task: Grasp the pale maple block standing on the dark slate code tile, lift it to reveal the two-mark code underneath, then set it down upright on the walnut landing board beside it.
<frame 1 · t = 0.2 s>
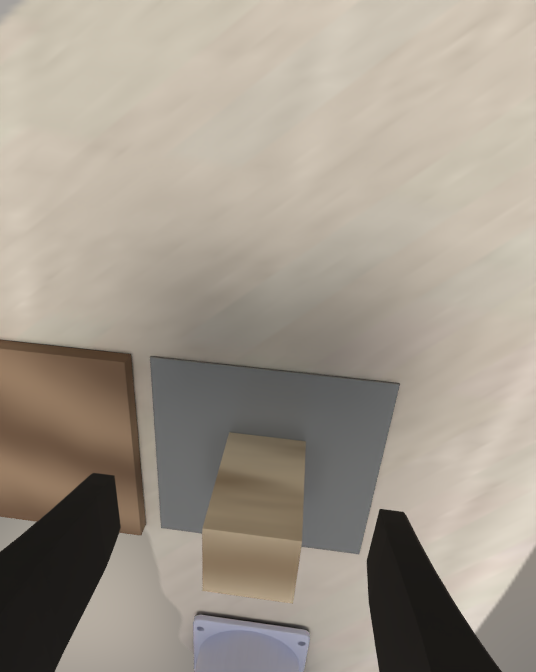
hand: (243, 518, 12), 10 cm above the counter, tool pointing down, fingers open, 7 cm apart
maple block: (264, 465, 24), resting on code tile
code tile: (265, 464, 24), on the counter
landing board: (34, 436, 25), on the counter
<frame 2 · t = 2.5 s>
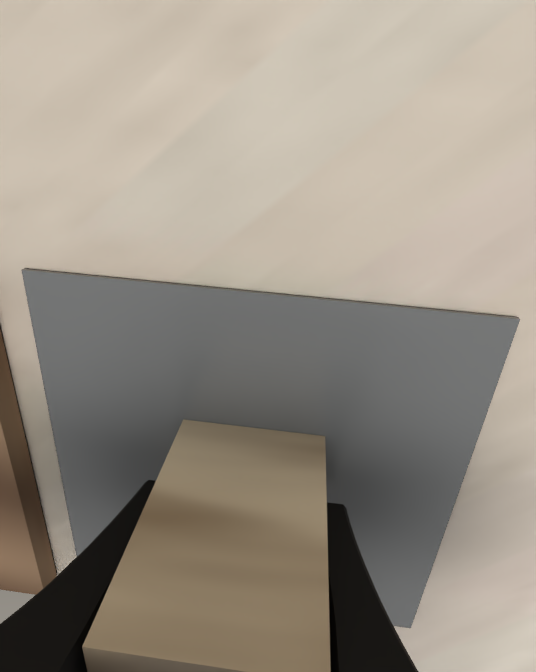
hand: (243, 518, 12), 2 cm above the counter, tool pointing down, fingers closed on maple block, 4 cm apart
maple block: (250, 480, 13), resting on code tile, touching gripper
code tile: (250, 478, 13), on the counter
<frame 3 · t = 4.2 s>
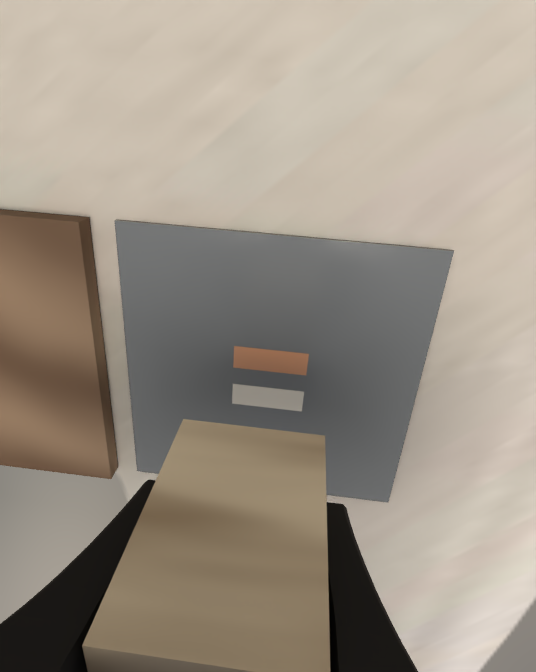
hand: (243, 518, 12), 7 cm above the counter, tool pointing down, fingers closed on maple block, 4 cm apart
maple block: (250, 480, 13), point 6 cm above the counter, touching gripper
code tile: (269, 378, 18), on the counter
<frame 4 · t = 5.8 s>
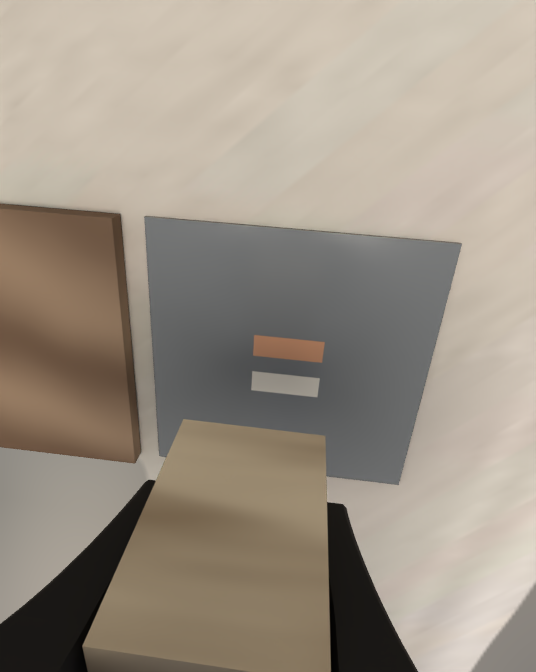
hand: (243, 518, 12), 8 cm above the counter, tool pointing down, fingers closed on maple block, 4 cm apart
maple block: (250, 480, 13), point 7 cm above the counter, touching gripper
code tile: (286, 365, 19), on the counter
landing board: (4, 336, 20), on the counter
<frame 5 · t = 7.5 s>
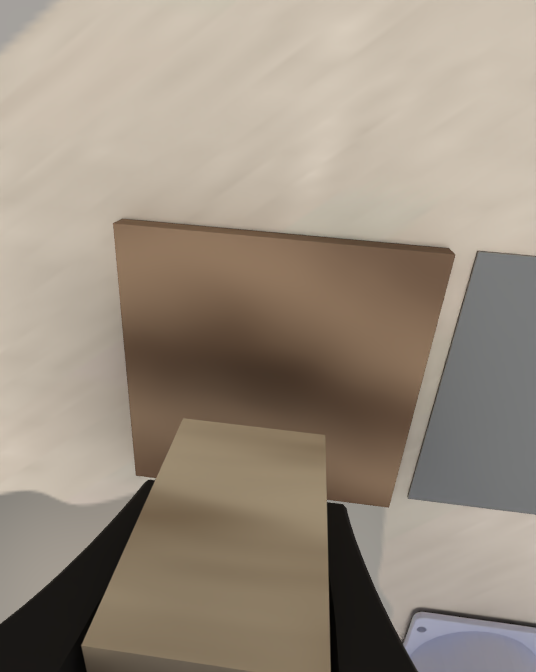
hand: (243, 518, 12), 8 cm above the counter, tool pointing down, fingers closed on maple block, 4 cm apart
maple block: (250, 480, 13), point 6 cm above the counter, touching gripper
landing board: (270, 373, 19), on the counter
when the fingers open (4 cm above the counter, at t = 9.1 s): maple block drops 1 cm, resting on landing board.
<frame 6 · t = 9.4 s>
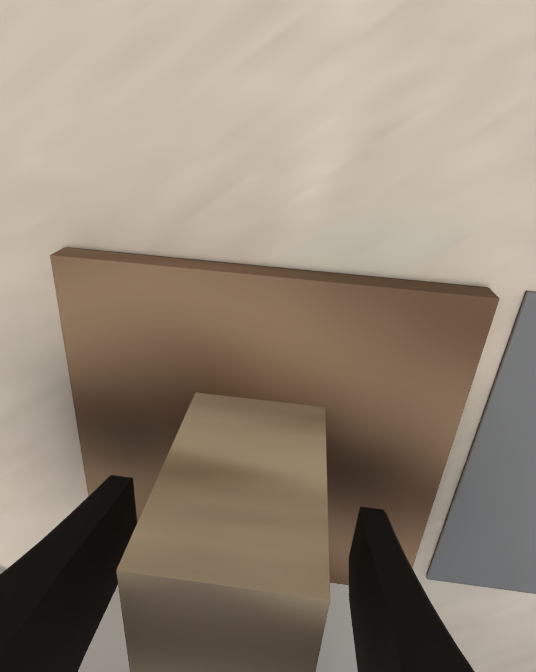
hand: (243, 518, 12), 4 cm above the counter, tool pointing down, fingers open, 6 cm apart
maple block: (256, 450, 14), point 1 cm above the counter, touching landing board
landing board: (258, 435, 15), on the counter
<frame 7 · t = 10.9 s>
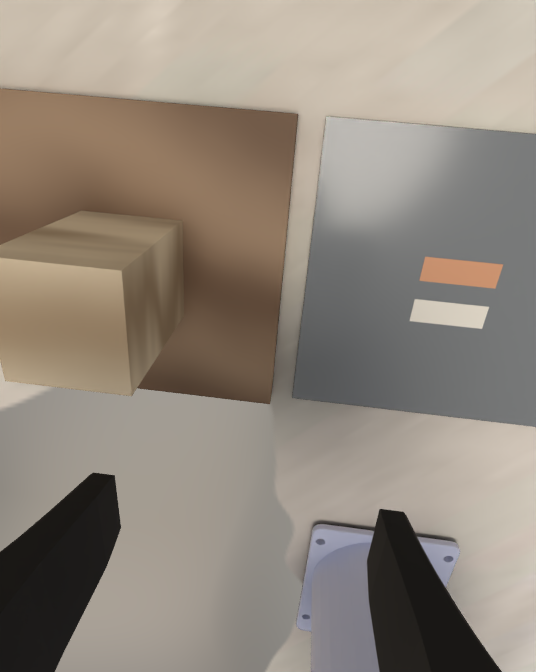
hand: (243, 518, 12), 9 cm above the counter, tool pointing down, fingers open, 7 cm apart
maple block: (135, 265, 18), point 1 cm above the counter, touching landing board
code tile: (453, 292, 18), on the counter
landing board: (141, 260, 19), on the counter
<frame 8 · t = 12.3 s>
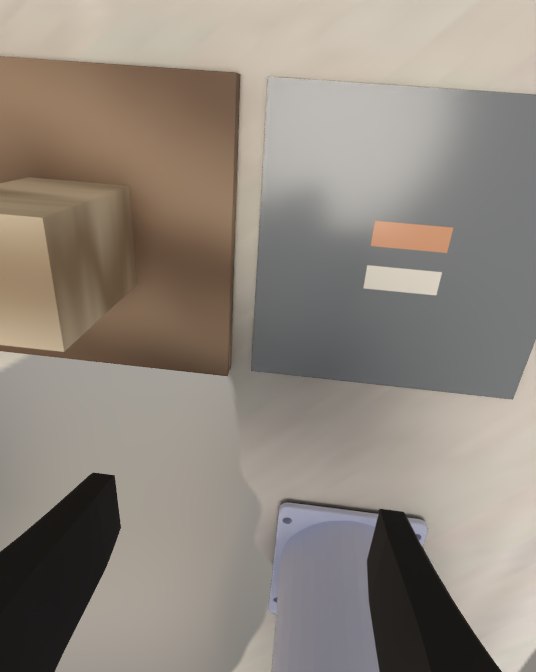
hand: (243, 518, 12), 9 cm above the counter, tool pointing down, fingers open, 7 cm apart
maple block: (85, 233, 18), point 1 cm above the counter, touching landing board
code tile: (406, 258, 18), on the counter
landing board: (94, 229, 19), on the counter
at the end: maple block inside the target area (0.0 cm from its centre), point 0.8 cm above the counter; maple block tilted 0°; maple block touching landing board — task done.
